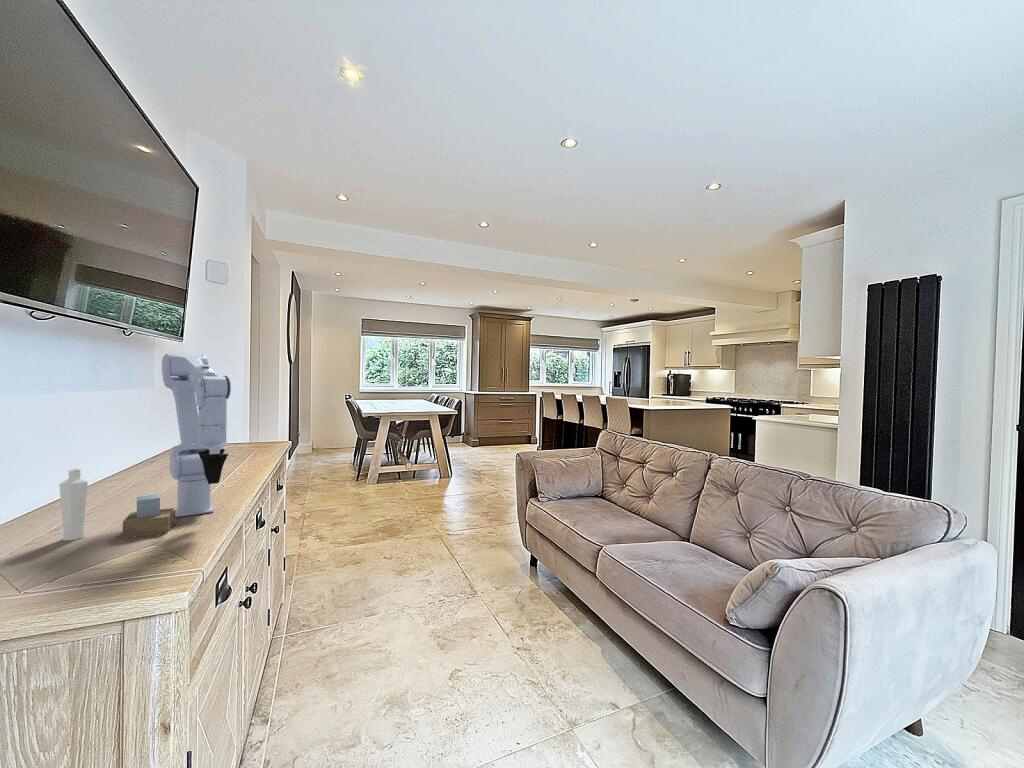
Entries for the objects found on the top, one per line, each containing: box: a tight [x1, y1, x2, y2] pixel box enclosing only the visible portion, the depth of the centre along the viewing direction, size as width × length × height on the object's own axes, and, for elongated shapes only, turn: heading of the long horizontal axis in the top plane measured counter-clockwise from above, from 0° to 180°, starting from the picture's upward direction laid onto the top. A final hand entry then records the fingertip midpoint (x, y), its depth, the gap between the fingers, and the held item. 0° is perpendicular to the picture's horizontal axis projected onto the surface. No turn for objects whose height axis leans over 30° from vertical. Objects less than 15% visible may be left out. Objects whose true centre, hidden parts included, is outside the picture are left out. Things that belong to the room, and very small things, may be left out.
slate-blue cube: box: [136, 493, 161, 518], centre depth 103 cm, size 4×4×4 cm
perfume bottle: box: [59, 468, 89, 541], centre depth 98 cm, size 5×4×15 cm
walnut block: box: [122, 507, 174, 539], centre depth 103 cm, size 8×8×4 cm
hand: (212, 480), depth 108 cm, fingers open, 7 cm apart
